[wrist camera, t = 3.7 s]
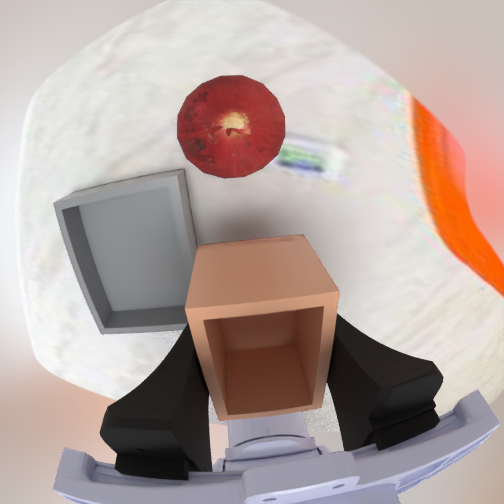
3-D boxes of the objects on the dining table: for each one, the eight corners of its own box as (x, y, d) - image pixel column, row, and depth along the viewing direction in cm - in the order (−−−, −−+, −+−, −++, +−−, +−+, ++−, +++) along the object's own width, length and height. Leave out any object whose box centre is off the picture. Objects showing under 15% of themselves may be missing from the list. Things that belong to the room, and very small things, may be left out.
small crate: (301, 341, 16) (321, 407, 12) (218, 351, 16) (219, 420, 12) (303, 234, 13) (339, 290, 9) (198, 245, 13) (184, 308, 9)
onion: (207, 181, 19) (195, 216, 12) (173, 108, 16) (138, 95, 9) (285, 149, 18) (324, 163, 11) (253, 74, 16) (272, 39, 9)
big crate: (209, 304, 23) (207, 327, 20) (111, 313, 23) (101, 334, 20) (184, 168, 18) (177, 175, 16) (72, 192, 18) (53, 203, 15)
